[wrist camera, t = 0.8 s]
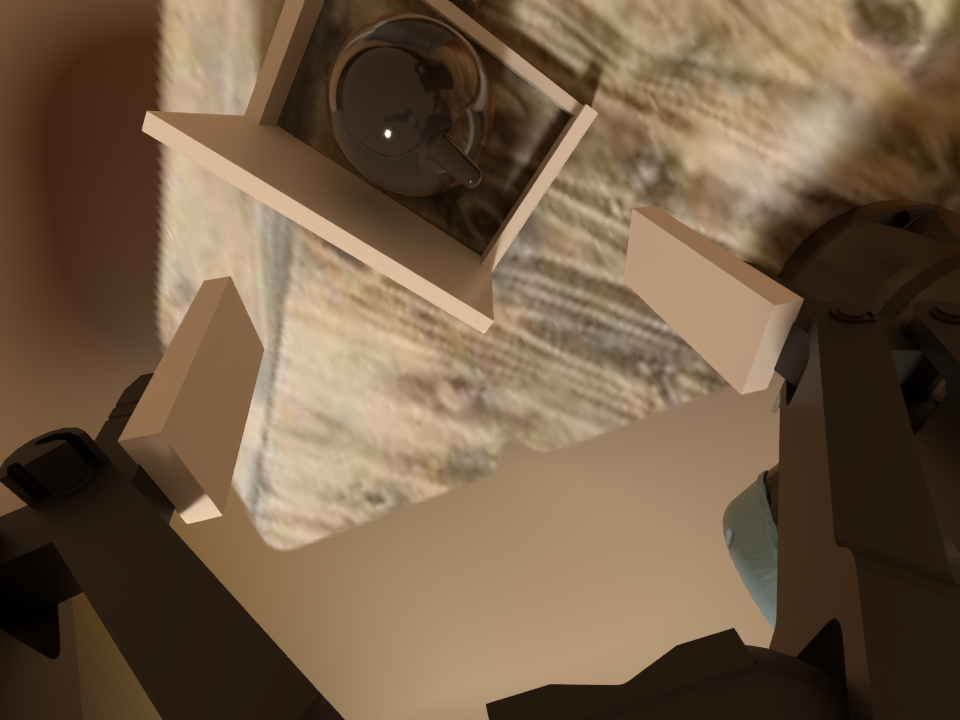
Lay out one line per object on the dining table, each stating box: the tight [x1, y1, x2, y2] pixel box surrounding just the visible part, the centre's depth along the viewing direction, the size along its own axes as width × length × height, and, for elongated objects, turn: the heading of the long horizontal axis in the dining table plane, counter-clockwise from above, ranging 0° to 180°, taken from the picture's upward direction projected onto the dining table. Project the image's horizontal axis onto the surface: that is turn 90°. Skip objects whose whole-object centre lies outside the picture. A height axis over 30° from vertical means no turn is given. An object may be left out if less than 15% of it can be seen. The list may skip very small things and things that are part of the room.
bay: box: [142, 0, 598, 334], centre depth 28 cm, size 20×14×13 cm
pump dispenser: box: [325, 12, 495, 197], centre depth 27 cm, size 10×10×15 cm
